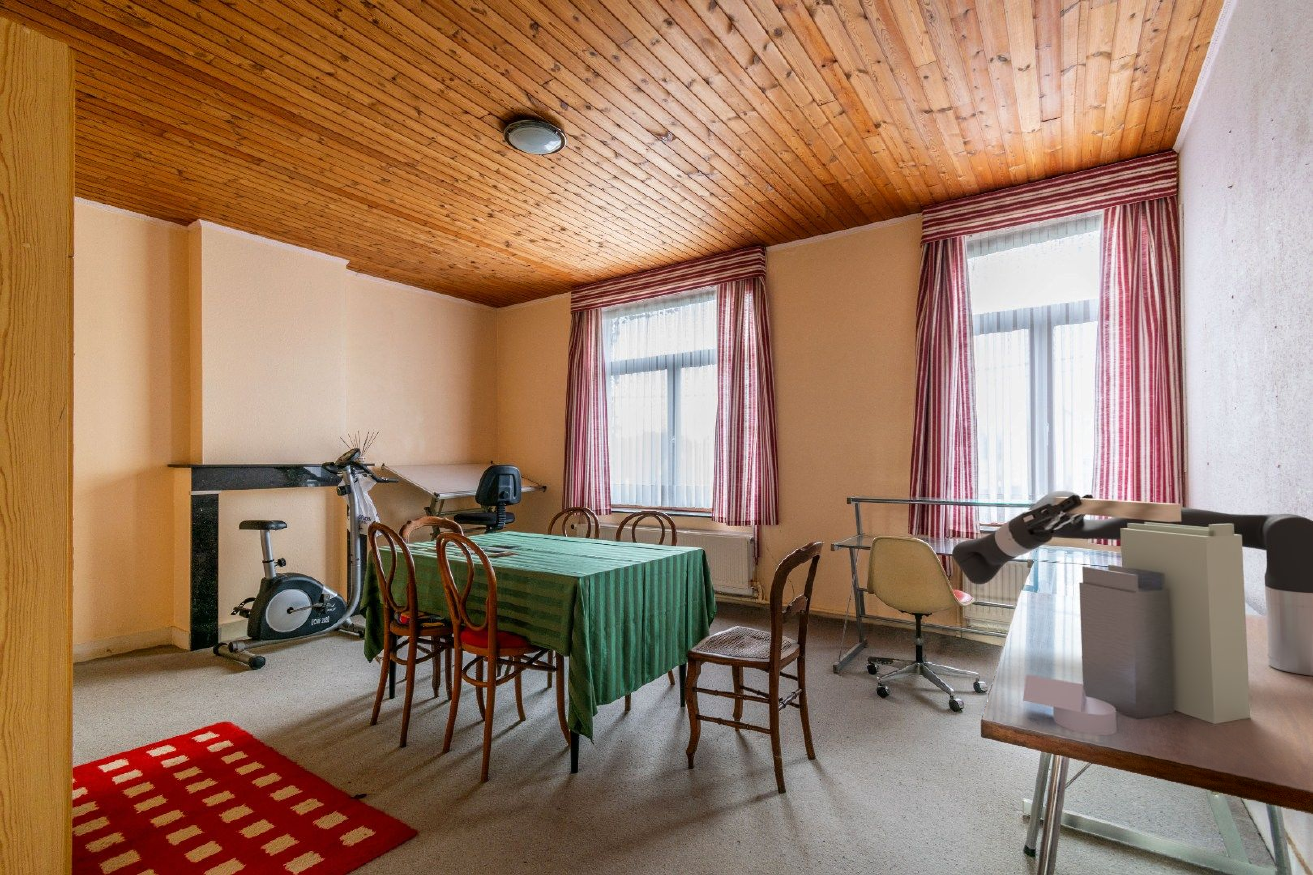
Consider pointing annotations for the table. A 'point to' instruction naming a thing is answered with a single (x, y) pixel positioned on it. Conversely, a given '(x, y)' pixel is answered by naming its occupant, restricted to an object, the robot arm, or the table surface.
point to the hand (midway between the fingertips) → (1085, 498)
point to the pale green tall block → (1200, 612)
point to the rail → (1127, 509)
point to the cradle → (1127, 640)
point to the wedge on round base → (1071, 705)
